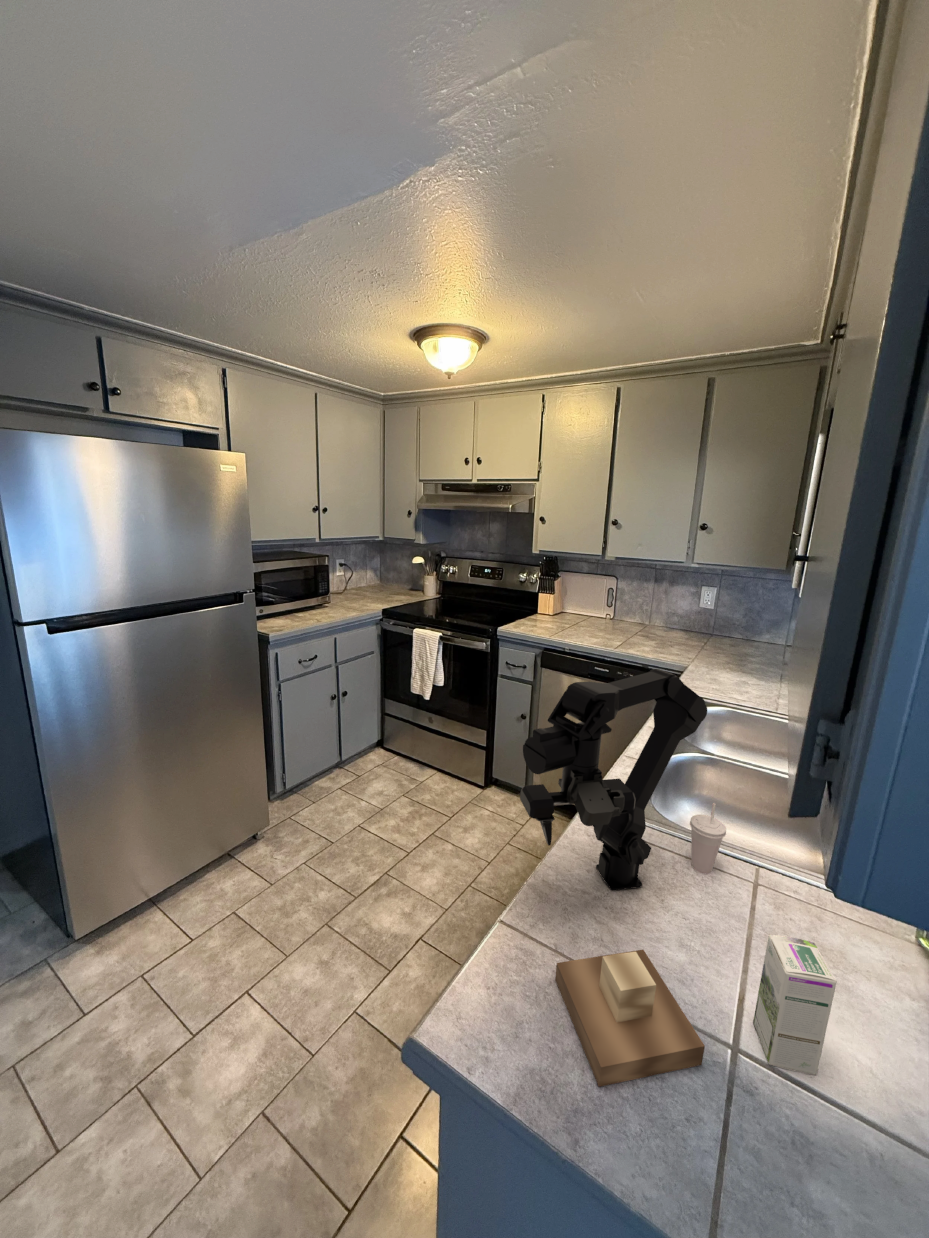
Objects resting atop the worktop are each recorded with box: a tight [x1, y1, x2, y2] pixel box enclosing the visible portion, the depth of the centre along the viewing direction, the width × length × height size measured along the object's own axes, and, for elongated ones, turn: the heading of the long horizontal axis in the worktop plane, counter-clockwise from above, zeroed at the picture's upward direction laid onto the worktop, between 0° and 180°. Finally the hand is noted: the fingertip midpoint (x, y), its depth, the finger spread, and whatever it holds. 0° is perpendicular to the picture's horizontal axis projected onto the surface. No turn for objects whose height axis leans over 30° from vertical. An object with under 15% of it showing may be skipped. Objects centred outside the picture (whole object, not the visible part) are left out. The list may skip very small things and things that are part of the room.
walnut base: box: [554, 949, 706, 1088], centre depth 66 cm, size 14×14×3 cm
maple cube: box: [599, 951, 656, 1022], centre depth 65 cm, size 5×5×5 cm
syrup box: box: [752, 934, 837, 1076], centre depth 62 cm, size 6×6×14 cm
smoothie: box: [689, 802, 727, 875], centre depth 95 cm, size 6×6×14 cm
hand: (573, 841), depth 84 cm, fingers open, 9 cm apart
